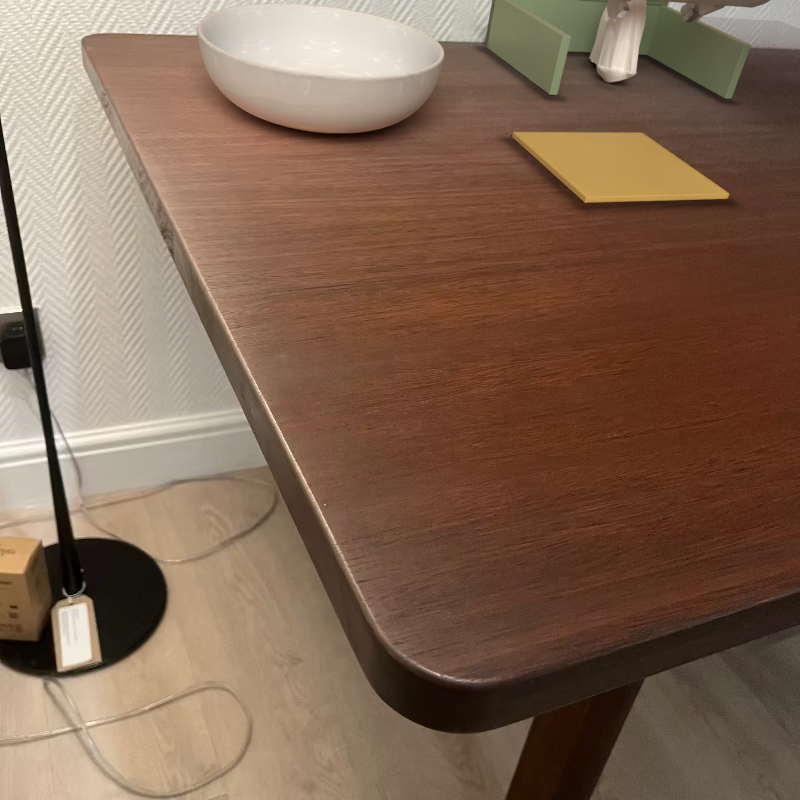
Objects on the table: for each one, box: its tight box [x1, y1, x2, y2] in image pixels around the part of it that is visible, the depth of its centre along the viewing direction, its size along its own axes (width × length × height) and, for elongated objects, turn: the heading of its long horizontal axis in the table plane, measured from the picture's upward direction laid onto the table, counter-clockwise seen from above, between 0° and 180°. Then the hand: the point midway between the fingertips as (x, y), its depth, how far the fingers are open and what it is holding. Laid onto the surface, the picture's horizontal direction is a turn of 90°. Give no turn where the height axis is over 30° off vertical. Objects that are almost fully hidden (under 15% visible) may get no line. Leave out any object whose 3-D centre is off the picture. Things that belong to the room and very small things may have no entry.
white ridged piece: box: [588, 0, 646, 83], centre depth 93 cm, size 12×4×11 cm, turn 173°
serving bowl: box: [196, 2, 445, 134], centre depth 71 cm, size 21×21×7 cm
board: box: [511, 131, 730, 204], centre depth 71 cm, size 14×14×1 cm
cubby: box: [483, 0, 752, 100], centre depth 95 cm, size 24×18×7 cm
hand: (650, 14), depth 87 cm, fingers open, 8 cm apart
